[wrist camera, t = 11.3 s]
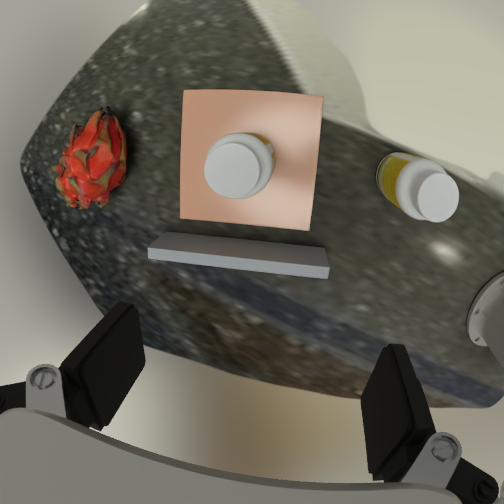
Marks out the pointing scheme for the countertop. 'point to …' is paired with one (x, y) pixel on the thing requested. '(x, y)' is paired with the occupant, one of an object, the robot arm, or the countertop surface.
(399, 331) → the countertop surface
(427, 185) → the supplement bottle
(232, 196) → the supplement bottle
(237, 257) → the low wall
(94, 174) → the dragon fruit
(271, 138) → the tile
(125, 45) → the countertop surface
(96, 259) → the countertop surface
